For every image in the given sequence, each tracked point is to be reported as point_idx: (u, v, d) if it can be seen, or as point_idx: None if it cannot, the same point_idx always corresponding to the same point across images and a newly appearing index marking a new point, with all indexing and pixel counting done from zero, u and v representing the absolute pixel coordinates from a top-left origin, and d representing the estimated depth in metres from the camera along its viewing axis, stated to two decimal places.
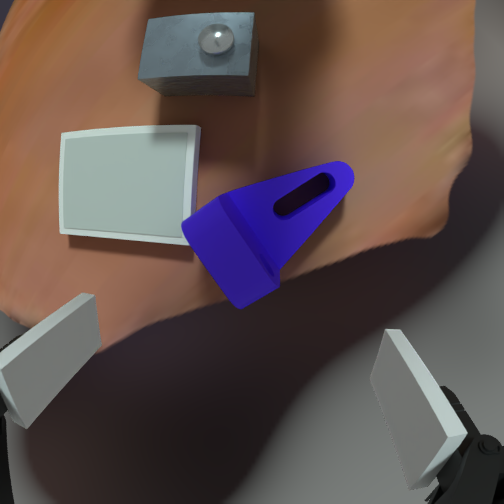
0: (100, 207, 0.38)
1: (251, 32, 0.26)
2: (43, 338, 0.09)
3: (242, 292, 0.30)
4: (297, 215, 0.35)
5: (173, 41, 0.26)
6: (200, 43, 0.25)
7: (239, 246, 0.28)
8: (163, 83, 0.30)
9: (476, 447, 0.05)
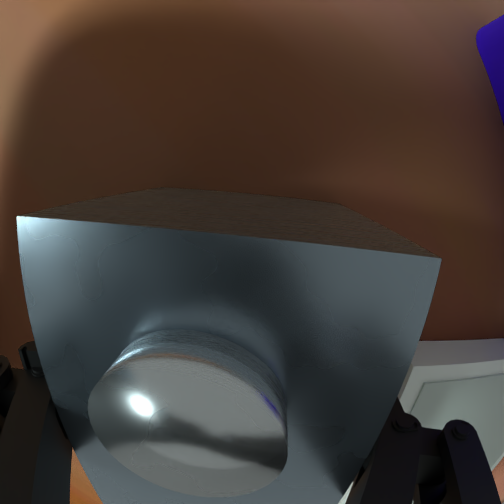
0: None
1: (124, 229, 0.05)
2: None
3: None
4: None
5: None
6: (218, 493, 0.05)
7: None
8: None
9: (389, 425, 0.07)
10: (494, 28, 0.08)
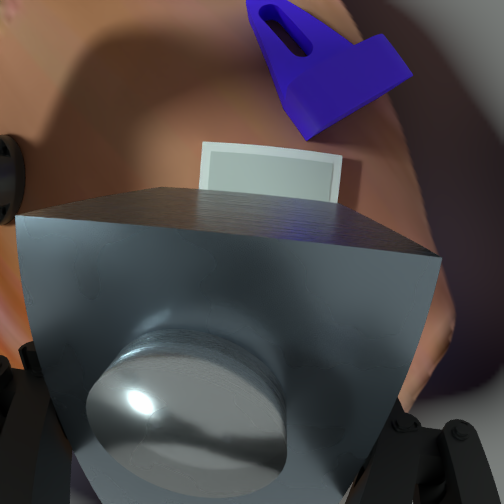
0: None
1: (123, 228, 0.05)
2: None
3: (394, 64, 0.20)
4: (306, 35, 0.26)
5: None
6: (217, 494, 0.05)
7: (344, 59, 0.20)
8: None
9: (389, 425, 0.07)
10: None
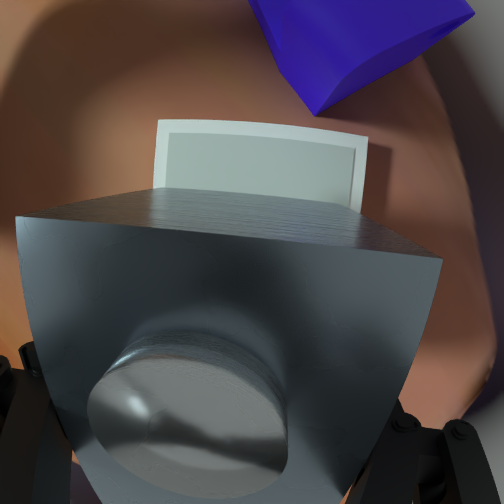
0: None
1: (124, 229, 0.05)
2: None
3: None
4: None
5: None
6: (218, 494, 0.05)
7: None
8: None
9: (389, 425, 0.07)
10: None
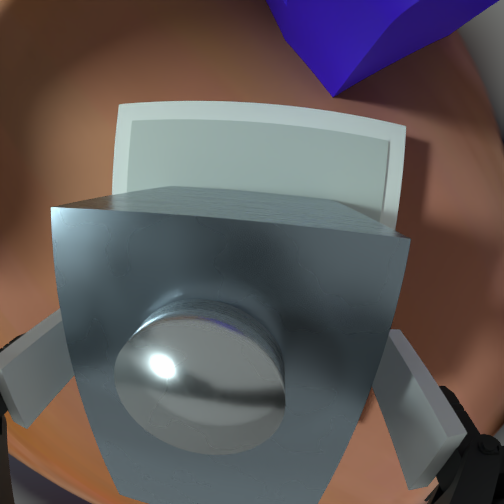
0: None
1: (150, 216, 0.06)
2: (43, 338, 0.09)
3: None
4: None
5: (196, 475, 0.08)
6: (225, 449, 0.06)
7: None
8: None
9: (476, 447, 0.05)
10: None
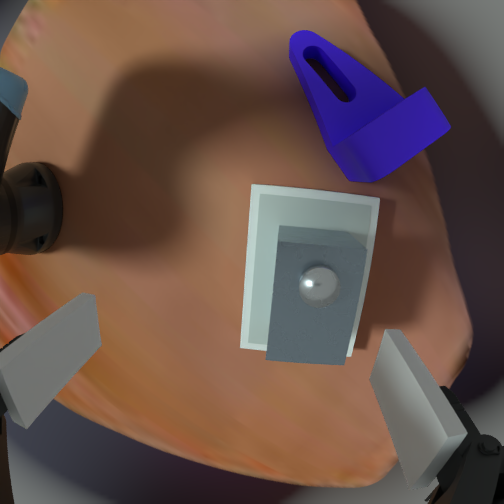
0: None
1: (308, 244, 0.26)
2: (43, 338, 0.09)
3: (436, 118, 0.22)
4: (349, 79, 0.29)
5: (307, 331, 0.28)
6: (325, 304, 0.26)
7: (393, 116, 0.23)
8: None
9: (476, 447, 0.05)
10: None
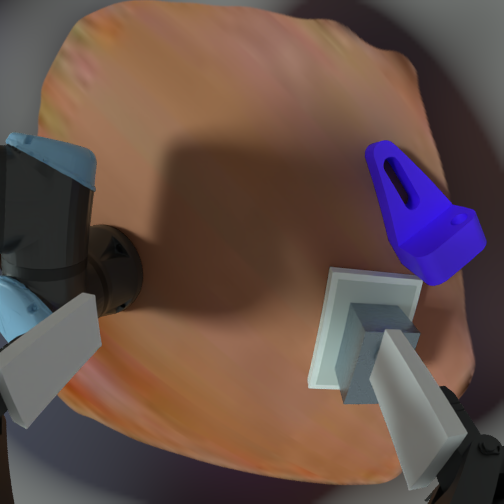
0: None
1: None
2: (43, 338, 0.09)
3: (479, 239, 0.31)
4: (416, 189, 0.37)
5: None
6: None
7: (452, 242, 0.31)
8: None
9: (476, 447, 0.05)
10: (369, 151, 0.39)
